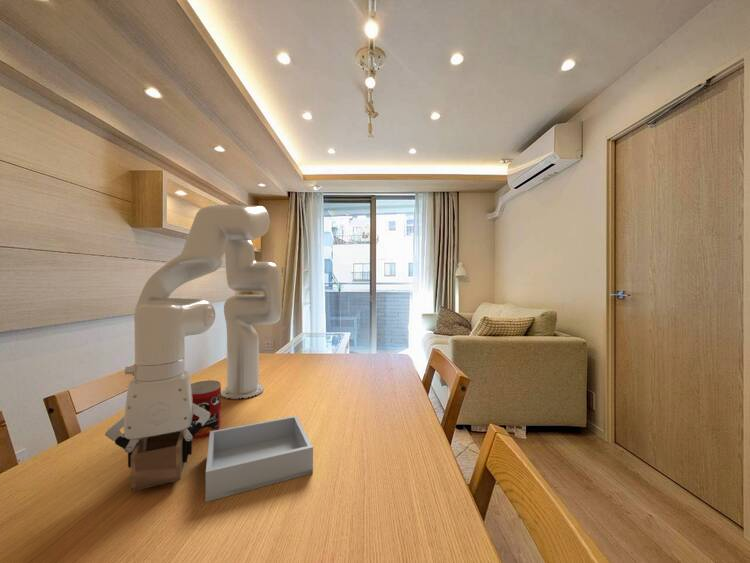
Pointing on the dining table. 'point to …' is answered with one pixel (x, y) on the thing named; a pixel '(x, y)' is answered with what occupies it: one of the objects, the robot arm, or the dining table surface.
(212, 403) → the canned food
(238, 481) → the large crate
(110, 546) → the dining table surface
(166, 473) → the small crate
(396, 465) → the dining table surface
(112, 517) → the dining table surface
